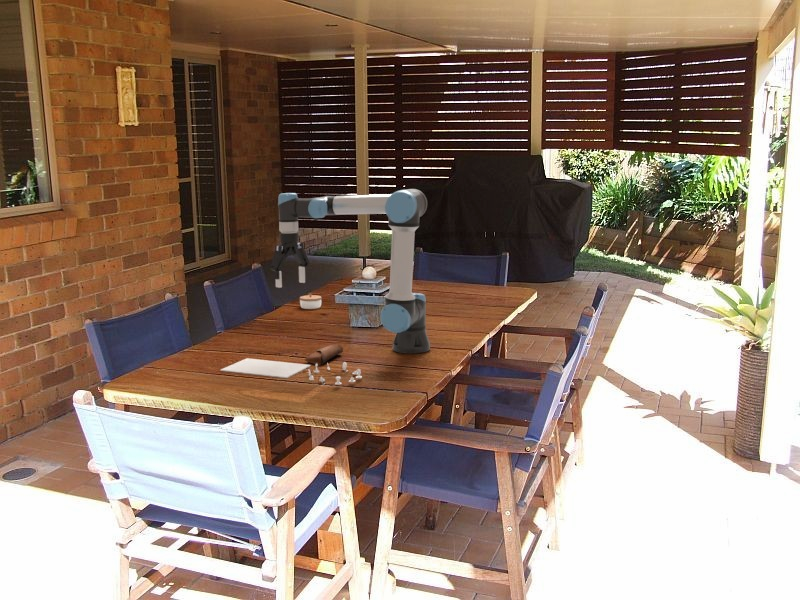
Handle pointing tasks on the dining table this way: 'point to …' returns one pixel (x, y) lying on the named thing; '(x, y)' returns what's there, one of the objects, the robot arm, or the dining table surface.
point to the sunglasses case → (324, 354)
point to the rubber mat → (266, 368)
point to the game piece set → (337, 376)
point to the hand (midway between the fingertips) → (290, 285)
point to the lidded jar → (310, 301)
